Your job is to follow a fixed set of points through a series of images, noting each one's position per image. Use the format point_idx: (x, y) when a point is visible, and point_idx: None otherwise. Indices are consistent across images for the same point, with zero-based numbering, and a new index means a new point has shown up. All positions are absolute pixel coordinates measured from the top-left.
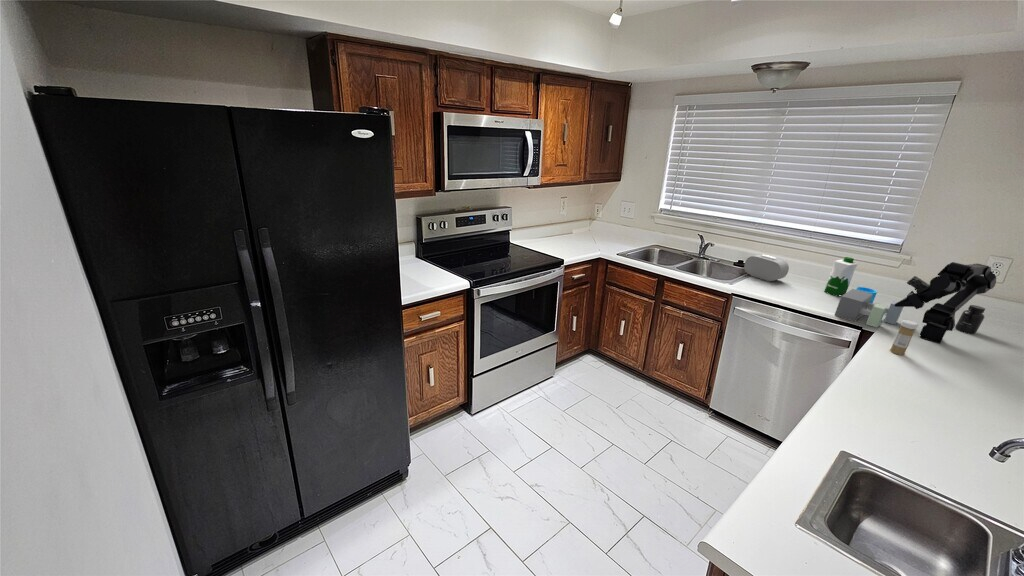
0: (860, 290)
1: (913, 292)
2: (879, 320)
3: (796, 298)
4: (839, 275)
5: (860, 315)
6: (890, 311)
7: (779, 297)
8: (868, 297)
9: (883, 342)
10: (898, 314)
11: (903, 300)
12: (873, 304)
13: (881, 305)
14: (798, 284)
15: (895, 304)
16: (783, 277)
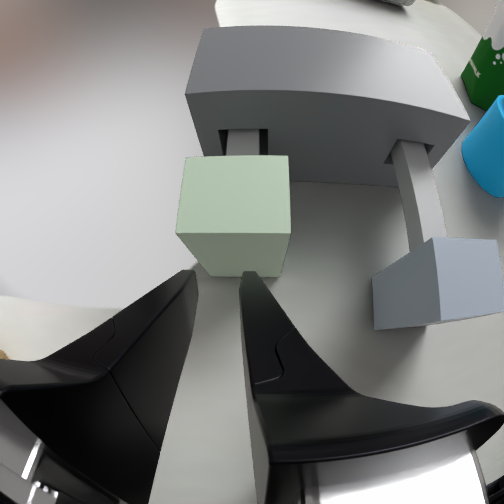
0: (496, 104)
1: (456, 455)
2: (201, 262)
3: (294, 25)
4: (494, 36)
5: (310, 174)
6: (404, 272)
7: (248, 10)
8: (366, 98)
9: (43, 329)
10: (404, 323)
11: (91, 337)
12: (418, 170)
13: (282, 191)
14: (434, 34)
15: (175, 278)
16: (407, 2)
